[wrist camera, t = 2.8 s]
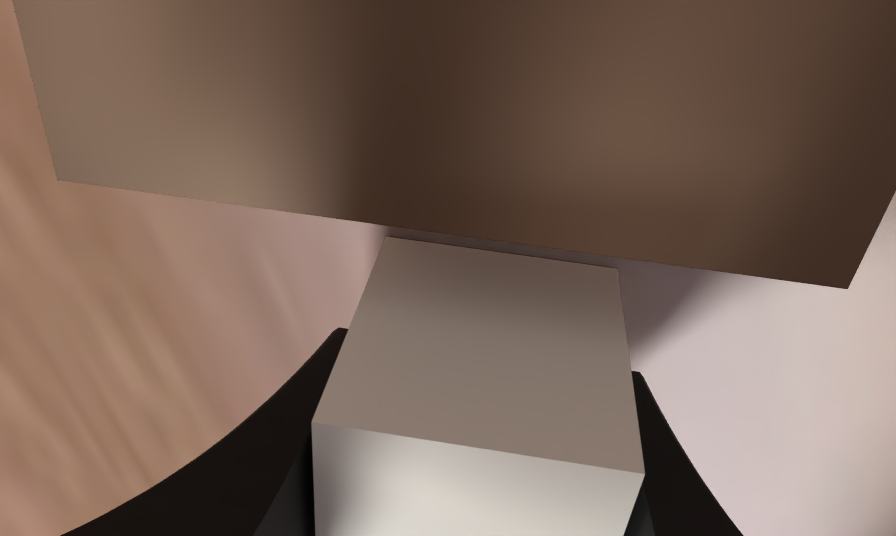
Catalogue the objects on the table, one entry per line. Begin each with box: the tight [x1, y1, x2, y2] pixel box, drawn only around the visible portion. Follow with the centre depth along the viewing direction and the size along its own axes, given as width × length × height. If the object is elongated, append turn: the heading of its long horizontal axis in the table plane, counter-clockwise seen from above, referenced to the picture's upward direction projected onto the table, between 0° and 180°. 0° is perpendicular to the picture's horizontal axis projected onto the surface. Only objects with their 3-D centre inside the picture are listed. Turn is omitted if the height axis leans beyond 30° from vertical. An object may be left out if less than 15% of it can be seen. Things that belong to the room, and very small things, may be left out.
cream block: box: [311, 237, 645, 536], centre depth 13 cm, size 4×4×5 cm
